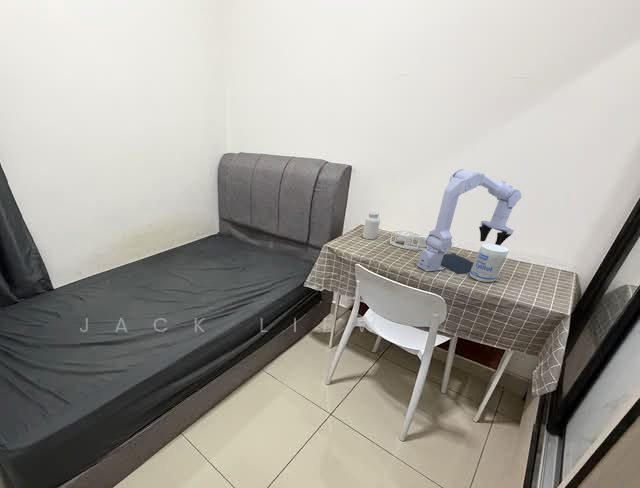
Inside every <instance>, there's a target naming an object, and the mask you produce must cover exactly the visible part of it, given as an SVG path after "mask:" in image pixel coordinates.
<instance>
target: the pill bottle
mask: <svg viewBox="0 0 640 488" xmlns="http://www.w3.org/2000/svg"><path fill="white" fill-rule="evenodd" d="M379 215H380V213H379V212H377V211H370V212H369V213H368V216H366V218H365V220H364V224H363V225H364V226H363V230H362V238H363V239H365V240H376V239H377V237H378V232H379V227H380V223H381V219H380V216H379Z"/></svg>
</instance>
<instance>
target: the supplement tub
mask: <svg viewBox="0 0 640 488" xmlns="http://www.w3.org/2000/svg"><path fill="white" fill-rule="evenodd" d="M508 254H509V248H508V247H505V246H504V245H496V244H495V243H483V244H481V246H480V247H479V250H478V252H477V255H476V258H475V259H474V262H473V263H474V264H473V266H472V269H471V271H470V272H469V277H470V278H472V279H474V280H476V281H479V282H481V283H482V282H483V283H492V282H495V281H496V280H497V278H498V275H499V273H500V271H501V269H502V267H503V265H504V263H505V261H506V258H507V257H508Z"/></svg>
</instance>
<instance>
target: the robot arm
mask: <svg viewBox="0 0 640 488" xmlns="http://www.w3.org/2000/svg"><path fill="white" fill-rule="evenodd" d="M506 182H507V181H504V180H501V181H500V180H499V181H494V180H493V179H491V178H490V177H488V176H487V175H486V174H484V173H481V172H479V171H472V170H465V169H462V168H460V169H457V170H456V171H454V172H453V173H452V174H451V175H450V177H449V181H448V184H447V186H446V187H445V189H444V192H443V195H442V200H441V204H440V207H439V212H438V216H437V219H436V220H437V221H436V224H435V229H432V230H430V231H429V232H428V237H427V239H426V244H427V249H426V250H425V251H423V250H421V252H420V253H419V255H418V259H417V262H416V263H415V266H417V267H419V268H420V269H422V270H423V271H425V272H434V271H443V270H445V268H444V267H442V265H441V262H442V259H443V256H444V255H445V253H446V254H447V252H448V251H450V250H451V248H452V247H453V246H452V245H453V242H452V239H453V235H452V234H451V231H450V230H451V226H452V223H453V219H454V215H455V212H456V208H457V205H458V201H459V197H460V196H461V195H463V194H465V193H467V192H469V191H472V190H473V189H475V188H477V187H483V188H486V189H487V193H488V194H490V195H491V196H493V197H494V198H496V200H497V204H496V206H495V209H494V212H493V214H492V216H491V219H490V221H488V220H481V222H480V223H479V225H480V226H478V229H479V235H480V237H479V242H486V240H487V238H488V235H489V233H490V232H491V231H492V229H493V230H496V231H497V233H496V240H495V243H494V244H496V245H500V246H502V244H503V243H504V242H505V241H506V240H507V239H508V238H509V237H511V236H512V235H513V233H514V232H515V231H514V230H515V229H512V228H511V227H509V226H507V222H508V220H509V219H510V215H511V214H512V211H513V209H514V207H516V205H517V203H518V202H519V201H520V200H521V199H522V197H523V196H522V192H521V191H520V190H519V189H516V188H513V186H512V185H508V184H507V183H506Z"/></svg>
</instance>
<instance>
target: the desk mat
mask: <svg viewBox="0 0 640 488" xmlns="http://www.w3.org/2000/svg"><path fill="white" fill-rule="evenodd" d="M473 264H474V262H472V261H470V260H468V259H466V258H465V257H461V256H460V255H457V254H455V253H446V254H445V253H444V256H443V259H442V262H441V265H440V266H443V267H445V268H447V269H448V270H450V271H451V272H453V273H456V274H458V275H459V274H466V273H467V274H468V273H470V271H471V269H472V266H473Z"/></svg>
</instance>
